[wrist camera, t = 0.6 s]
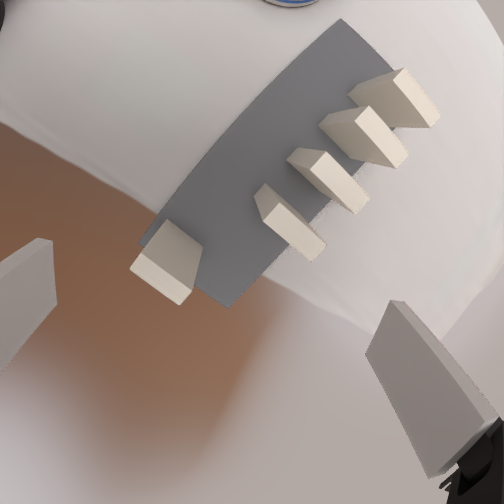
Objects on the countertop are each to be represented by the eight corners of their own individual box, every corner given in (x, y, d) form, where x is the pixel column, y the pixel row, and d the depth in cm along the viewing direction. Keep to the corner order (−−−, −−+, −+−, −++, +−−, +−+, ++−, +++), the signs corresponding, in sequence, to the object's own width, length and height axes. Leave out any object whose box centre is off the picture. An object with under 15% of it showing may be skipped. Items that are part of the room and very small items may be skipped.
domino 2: (253, 195, 31) (262, 221, 22) (265, 182, 30) (279, 202, 21) (288, 225, 32) (310, 262, 23) (299, 213, 32) (327, 245, 23)
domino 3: (347, 94, 27) (392, 80, 18) (357, 84, 27) (404, 67, 18) (378, 127, 29) (430, 127, 19) (387, 117, 28) (441, 114, 19)
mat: (138, 241, 32) (137, 243, 32) (339, 19, 24) (340, 18, 24) (227, 307, 36) (227, 309, 36) (417, 100, 28) (418, 100, 28)
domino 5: (285, 159, 30) (309, 169, 20) (297, 147, 29) (326, 151, 20) (320, 191, 31) (355, 214, 22) (331, 179, 31) (370, 197, 21)
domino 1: (157, 231, 32) (129, 269, 22) (166, 218, 31) (140, 252, 22) (193, 258, 33) (179, 305, 24) (203, 246, 33) (192, 290, 23)
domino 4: (317, 125, 29) (354, 121, 19) (328, 114, 28) (369, 105, 19) (350, 158, 30) (396, 168, 21) (360, 147, 30) (409, 153, 20)
